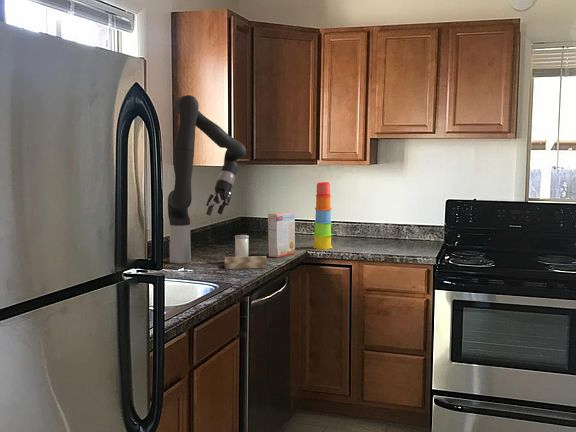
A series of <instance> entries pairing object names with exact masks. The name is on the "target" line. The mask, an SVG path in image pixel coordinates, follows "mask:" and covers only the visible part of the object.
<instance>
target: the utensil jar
mask: <svg viewBox="0 0 576 432" xmlns="http://www.w3.org/2000/svg"><path fill="white" fill-rule="evenodd" d="M249 238H250V236H249V235H247V234H238V235H237V234H236V235H234V240H235V241H234V242H235V244H234V245H235V246H234V249H235V253H234V255H235V256H234V257H249Z"/></svg>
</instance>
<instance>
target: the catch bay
mask: <svg viewBox="0 0 576 432" xmlns="http://www.w3.org/2000/svg"><path fill="white" fill-rule="evenodd" d="M267 259H268V258H267V255H266V256H265V255H264V256H263V255H258V256H248V257H235V256H224V269H225V270H226V269H227V270H230V269H231V270H232V269H233V270H234V269H240V270H241V269H267V268H268V267H267V265H268V264H267V262H268V261H267Z"/></svg>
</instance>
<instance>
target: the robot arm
mask: <svg viewBox="0 0 576 432" xmlns="http://www.w3.org/2000/svg"><path fill="white" fill-rule="evenodd" d="M173 106H174V110H175V112H176V113H177V114H178V115H179V126H178V131H177V133H176V136H175V140H174V144H173V151H172V152H173V154H172V163H173V171H174V179H175V180H174V188H173V190H172V191H170V193H169V194H168V197H167V216H168V220H169V222H168V223H169V245H168V246H169V263H170V264H188V263H191V262H192V261H191V260H192V259H191V258H192V256H191V219H190V216H189V211H188V209H189V207H190V206H191V203H192V199H193V198H192V196H193V195H192V177H193V169H194V167H193V166H194V157H195V142H196V141H195V140H196V128H198V129H199V130H200V131H201V132H202V133H203V134H205V135H206V136H207V137H208V138H209V139H210V140H211V141H212V142H213V143H215V144H216V146H218V147H219V148H222V149H225V153H224V157H223V165H222V168H221V170H220V173H219V175H218V176H217V180H216V182H215V183H216V184H215V185H214V189H213V190H214V194H212V193H210V195H209V197H208V198H207V199H208V200H207V201H206V205H205V206H206V207H208V208H207V210H206V213H205V214H206V215H207V216H209V217H210V216H212V213H213V210H214V208H215V207H216V206H218V205H219V206H218V209H217V214H219V215H223V213H224V210H225V208H226V206H229V205H230V203H231V198H232V196H233V195H232V193H231V191H232V190H233V186H234V183H235V179H236V176H237V172H238V170H239V165H238V163H237V162H238V160H240V159H243V158H244V157H245V156H246V155H247V148H246V146H245V145H244V144H243V143H242V142H240V141H239V140H237V139H235V138H234V137H232V136H231V135H229V134H228V133H227V132H226V131H225V130H224V129H223V128H222V127H220V126H219V125H218V124H217V123H215V122H213V121H212V120H210V119H209V118H208V117H206V116H205V115H204V114H203V113H201V111H199V102H198V99H197V98H196V97H195V96H194V95H191V94H187V95H183V96H179V97H178V98H177V99H176V100H175V101H174V105H173Z"/></svg>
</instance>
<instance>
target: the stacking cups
mask: <svg viewBox="0 0 576 432" xmlns="http://www.w3.org/2000/svg"><path fill="white" fill-rule="evenodd" d="M331 197H332V195H331V184H330V182H329V181H328V182H325V181H323V182H321V181H320V182H317V184H316V194H315V207H314V209H315V220H314V233H313V235H314V241H313V246H312V248H313V249H316V250H317V249H318V250H330V248H331V249H333V246H332V236H333V233H332V222H333V221H332V218H331V216H332V213H331V212H332V207H331Z"/></svg>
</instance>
